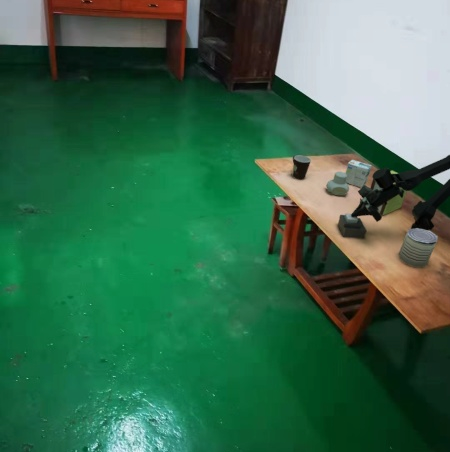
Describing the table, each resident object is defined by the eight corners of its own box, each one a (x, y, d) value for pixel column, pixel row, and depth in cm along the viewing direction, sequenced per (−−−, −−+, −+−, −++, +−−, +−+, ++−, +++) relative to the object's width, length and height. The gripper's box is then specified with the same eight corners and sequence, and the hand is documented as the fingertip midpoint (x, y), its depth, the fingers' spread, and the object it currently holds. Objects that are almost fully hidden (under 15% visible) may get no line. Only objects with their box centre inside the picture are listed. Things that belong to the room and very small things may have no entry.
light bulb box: (366, 184, 238) (372, 165, 232) (362, 188, 233) (368, 169, 227) (347, 177, 242) (352, 158, 236) (342, 181, 237) (347, 162, 231)
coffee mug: (308, 181, 234) (312, 163, 228) (291, 179, 233) (295, 161, 228) (305, 171, 243) (308, 153, 238) (289, 169, 243) (292, 152, 238)
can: (411, 270, 177) (422, 244, 170) (392, 253, 185) (401, 228, 179) (433, 265, 181) (444, 240, 175) (413, 249, 190) (423, 224, 183)
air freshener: (345, 189, 230) (350, 171, 224) (348, 197, 223) (354, 179, 217) (324, 187, 229) (328, 169, 224) (326, 195, 223) (331, 176, 217)
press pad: (353, 219, 196) (355, 214, 194) (356, 224, 192) (358, 219, 191) (343, 218, 195) (345, 213, 194) (346, 224, 192) (347, 218, 190)
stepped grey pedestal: (357, 225, 201) (361, 214, 198) (364, 238, 193) (367, 226, 189) (336, 224, 200) (339, 212, 197) (341, 236, 192) (345, 225, 189)
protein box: (401, 207, 219) (411, 178, 211) (382, 216, 211) (392, 186, 202) (382, 198, 226) (392, 169, 217) (364, 206, 217) (373, 176, 209)
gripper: (368, 171, 191) (336, 192, 196) (382, 192, 176) (347, 214, 181) (381, 189, 196) (349, 209, 201) (396, 211, 181) (361, 232, 186)
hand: (351, 215), depth 192 cm, fingers closed, pressing on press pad
